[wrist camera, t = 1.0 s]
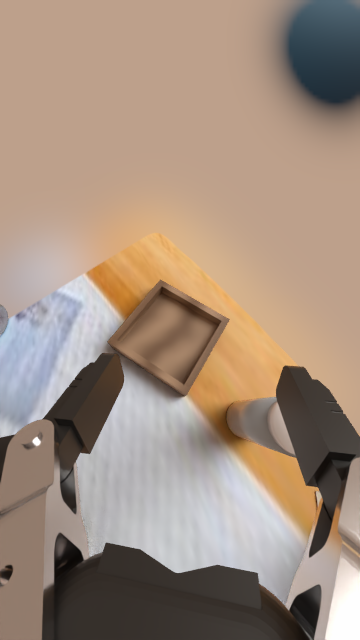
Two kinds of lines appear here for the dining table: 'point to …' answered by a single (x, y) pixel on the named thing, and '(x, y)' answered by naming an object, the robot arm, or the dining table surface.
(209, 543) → the dining table surface
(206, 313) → the tray
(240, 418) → the salt shaker
